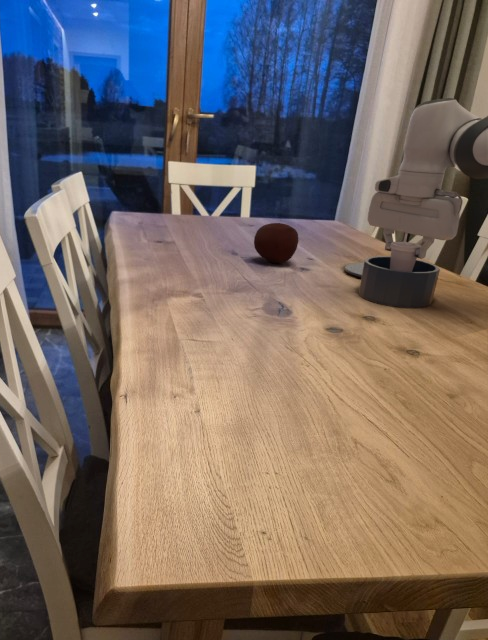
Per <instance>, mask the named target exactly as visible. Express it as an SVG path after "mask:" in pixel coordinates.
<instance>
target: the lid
mask: <svg viewBox="0 0 488 640" xmlns="http://www.w3.org/2000/svg"><path fill="white" fill-rule="evenodd" d="M376 256H377V255H375V256H374V257H376ZM363 267H364V262H355V263H348V264H345V266H344V271H345V272H346V273H348V274H350V275H352V276H356V277H357V278H361V277H362V272H363Z"/></svg>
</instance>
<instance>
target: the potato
mask: <svg viewBox="0 0 488 640" xmlns="http://www.w3.org/2000/svg"><path fill="white" fill-rule="evenodd" d="M299 241H300V240H299V233H298V230H297V229H296V228H294V227H293V226H292V225H289V224H287V223H282V222H271V223H267V224H264V225H262V226H260V227H259V228H258V229H257V230H256V232H255V235H254V238H253V246H254V249H255V251H256V253H257V254H258V255H259V256H260V257H261V258H262V259H264V260H266V261H267V262H269V263H272V264H283V263H286V262H288V261H290V259H291V258H292V257H293V256H294V254H296V251H297V249H298V245H299Z"/></svg>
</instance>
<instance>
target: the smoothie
mask: <svg viewBox="0 0 488 640" xmlns="http://www.w3.org/2000/svg"><path fill="white" fill-rule="evenodd" d="M408 234H409V233H405V232H404V236H403V240H402V241H393V242H392V243H391V246H390V248H391V251H390V256H391V260H390V269H391V270H397V271H406V272H412V270H413V267H414V264H415V262H416V260H418V258H416V257H415V254H416V253H415V251H416V249H420V248H421V247H422V245H421V244H419V243H415V242H411V241H407V239H408V236H409V235H408Z"/></svg>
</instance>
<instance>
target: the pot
mask: <svg viewBox="0 0 488 640" xmlns="http://www.w3.org/2000/svg"><path fill="white" fill-rule="evenodd" d="M375 256H376V257H375ZM375 256H370V257H369V256H368V257H367V258H365V259H364V260H363V261H364V262H363V263H364V267H363V272H362V277H360V283H359V288H358V295H359V296H360V297H361V298H362V299H363V300H365V301H368V302H371V303H374V304H377V305H382V306H387V307H394V308H405V309H416V308H417V309H418V308H419V309H420V308H425V307H428V306H430V305H431V304H432V302H433V299H434V295H435V292H436V289H437V282H438V279H439V275H440V271H441V269H440V266H438V265H436V264H434V263H431V262H428V261H424V260H422V259H416V262H415V264H414V267H413V270H412V272H406V271H397V270H391V269H390V260H391V255H390V256H388V255H375Z"/></svg>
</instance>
